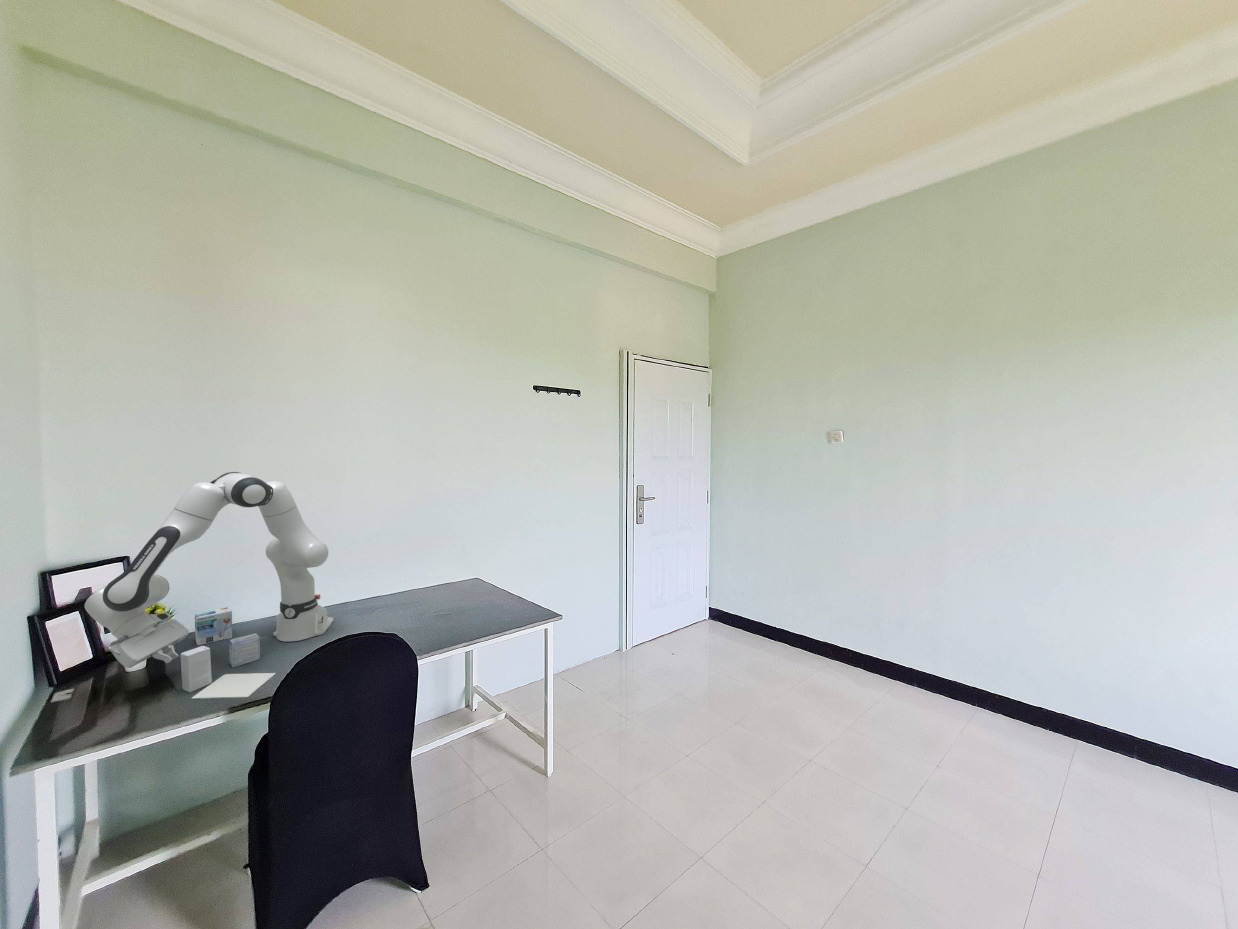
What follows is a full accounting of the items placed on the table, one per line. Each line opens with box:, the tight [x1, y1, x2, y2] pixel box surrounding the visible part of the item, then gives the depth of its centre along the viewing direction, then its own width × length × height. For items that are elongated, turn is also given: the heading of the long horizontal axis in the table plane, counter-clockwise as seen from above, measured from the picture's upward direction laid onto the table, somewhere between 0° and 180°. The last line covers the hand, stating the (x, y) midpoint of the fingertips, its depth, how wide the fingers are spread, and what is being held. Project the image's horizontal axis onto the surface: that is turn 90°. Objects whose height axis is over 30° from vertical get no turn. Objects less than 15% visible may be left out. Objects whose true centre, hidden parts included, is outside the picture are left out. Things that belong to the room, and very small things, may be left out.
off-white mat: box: [191, 672, 277, 700], centre depth 151 cm, size 14×16×1 cm
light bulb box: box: [194, 606, 233, 646], centre depth 182 cm, size 11×7×11 cm, turn 137°
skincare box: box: [179, 645, 213, 693], centre depth 149 cm, size 6×4×12 cm
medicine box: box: [228, 632, 261, 668], centre depth 166 cm, size 8×4×9 cm, turn 141°
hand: (173, 659), depth 148 cm, fingers closed
